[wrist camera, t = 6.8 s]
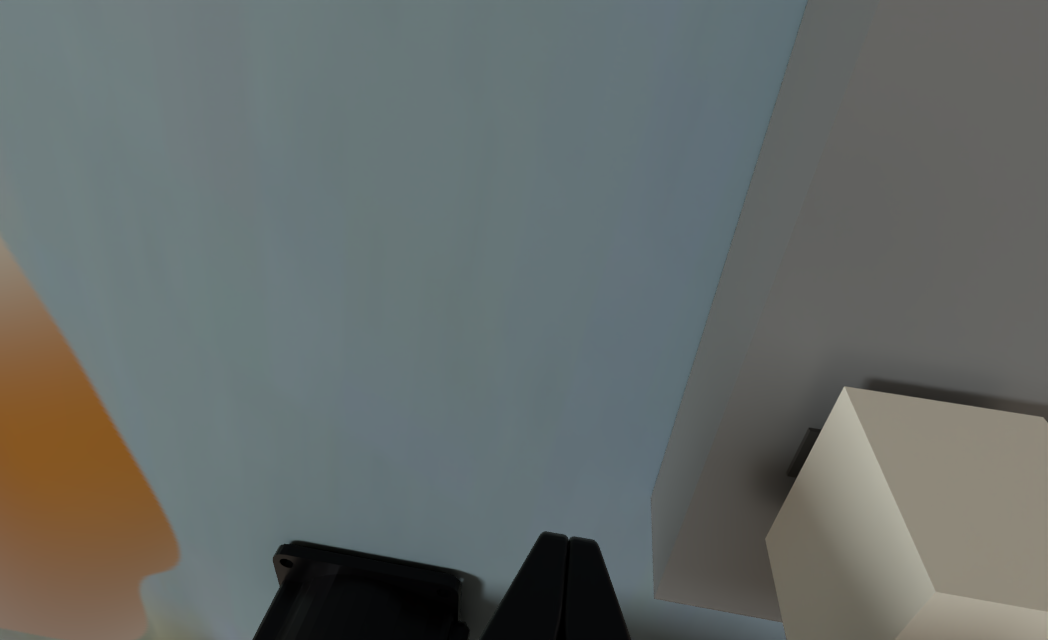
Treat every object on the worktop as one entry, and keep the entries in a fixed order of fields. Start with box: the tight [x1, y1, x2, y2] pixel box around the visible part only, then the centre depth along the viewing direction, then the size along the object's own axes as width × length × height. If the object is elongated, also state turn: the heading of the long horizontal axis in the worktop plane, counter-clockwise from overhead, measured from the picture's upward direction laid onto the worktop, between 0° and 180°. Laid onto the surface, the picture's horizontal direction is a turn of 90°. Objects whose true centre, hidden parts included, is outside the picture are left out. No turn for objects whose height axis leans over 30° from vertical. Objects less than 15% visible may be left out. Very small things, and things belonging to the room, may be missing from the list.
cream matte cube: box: [765, 386, 1048, 640], centre depth 9 cm, size 3×4×4 cm
